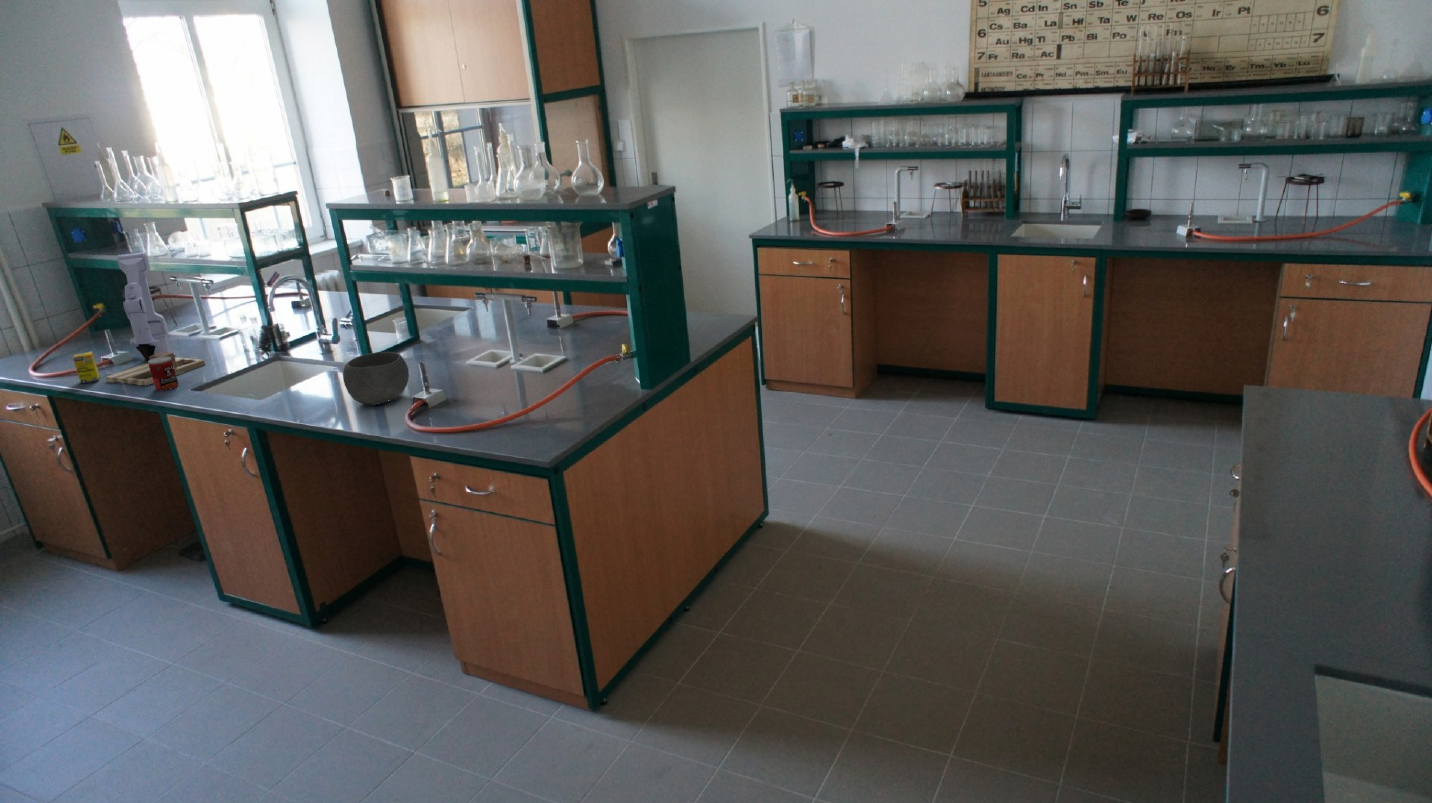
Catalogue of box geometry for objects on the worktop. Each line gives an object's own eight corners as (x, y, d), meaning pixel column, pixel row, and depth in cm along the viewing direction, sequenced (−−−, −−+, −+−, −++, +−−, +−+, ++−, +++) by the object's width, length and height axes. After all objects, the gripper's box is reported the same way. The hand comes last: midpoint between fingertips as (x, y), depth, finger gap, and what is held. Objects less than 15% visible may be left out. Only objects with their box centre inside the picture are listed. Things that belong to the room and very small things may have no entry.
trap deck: (107, 381, 359) (105, 376, 358) (166, 360, 381) (165, 356, 380) (146, 386, 350) (145, 381, 350) (205, 364, 373) (203, 359, 372)
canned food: (163, 392, 343) (154, 363, 339) (151, 389, 347) (143, 361, 343) (183, 385, 349) (175, 357, 345) (171, 382, 353) (163, 355, 349)
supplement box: (81, 384, 357) (72, 357, 353) (82, 380, 362) (74, 354, 358) (99, 381, 360) (90, 354, 356) (100, 377, 365) (92, 351, 361)
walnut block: (153, 371, 362) (148, 356, 359) (166, 366, 367) (162, 351, 365) (163, 372, 359) (159, 357, 357) (177, 367, 364) (173, 352, 362)
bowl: (378, 388, 332) (370, 348, 327) (425, 392, 324) (418, 351, 319) (335, 408, 314) (326, 366, 309) (384, 414, 306) (375, 371, 301)
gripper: (118, 330, 359) (128, 364, 364) (144, 332, 354) (154, 366, 359) (135, 325, 366) (144, 358, 370) (161, 327, 360) (170, 360, 365)
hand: (150, 362), depth 365 cm, fingers closed
